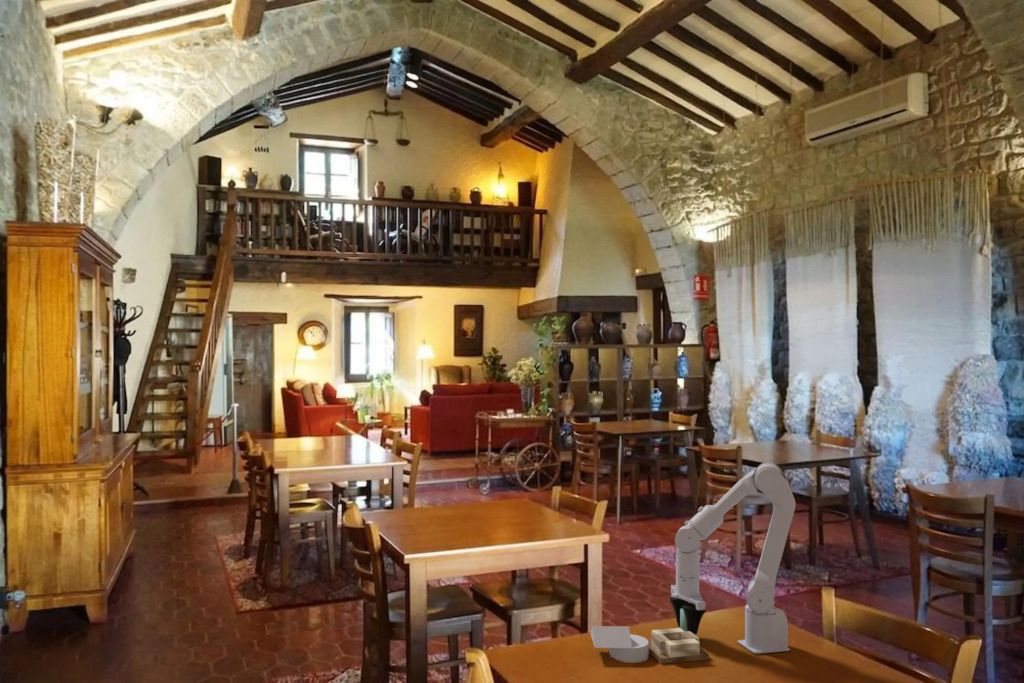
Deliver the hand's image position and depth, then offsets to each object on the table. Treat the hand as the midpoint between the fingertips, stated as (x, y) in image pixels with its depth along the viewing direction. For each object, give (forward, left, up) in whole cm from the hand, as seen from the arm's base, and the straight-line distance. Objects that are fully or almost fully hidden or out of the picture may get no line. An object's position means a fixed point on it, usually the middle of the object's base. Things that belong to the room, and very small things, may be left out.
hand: (687, 630), depth 190 cm
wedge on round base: (+20, +6, -2) cm, 22 cm away
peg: (0, 0, -2) cm, 2 cm away
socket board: (+8, +8, -2) cm, 11 cm away
